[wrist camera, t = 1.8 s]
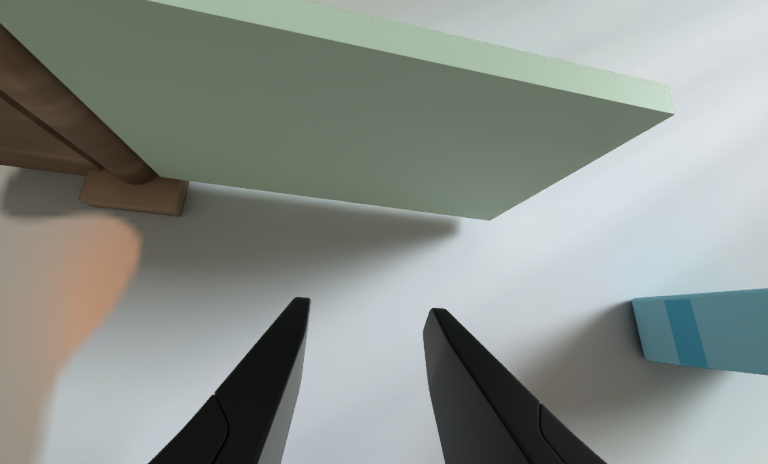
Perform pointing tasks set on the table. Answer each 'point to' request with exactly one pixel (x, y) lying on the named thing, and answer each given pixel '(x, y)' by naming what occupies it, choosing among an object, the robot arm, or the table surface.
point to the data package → (706, 330)
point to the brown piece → (73, 139)
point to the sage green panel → (333, 100)
